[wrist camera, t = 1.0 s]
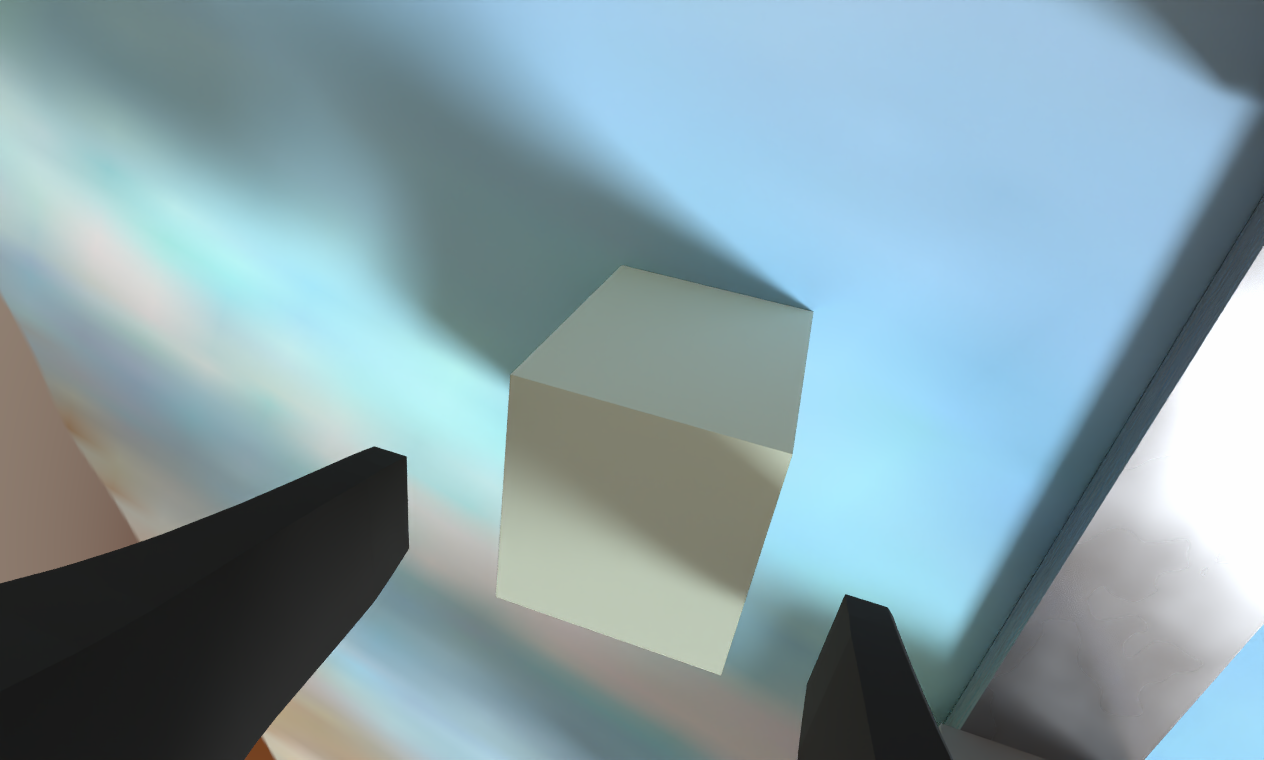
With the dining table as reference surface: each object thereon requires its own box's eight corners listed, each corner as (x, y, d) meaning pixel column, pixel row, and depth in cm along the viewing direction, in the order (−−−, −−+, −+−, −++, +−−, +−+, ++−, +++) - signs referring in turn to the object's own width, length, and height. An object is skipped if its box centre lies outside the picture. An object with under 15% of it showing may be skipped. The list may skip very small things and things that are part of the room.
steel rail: (1038, 843, 20) (1045, 871, 19) (902, 793, 21) (903, 819, 20) (1889, -175, 8) (1981, -194, 8) (1507, -208, 9) (1560, -228, 8)
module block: (760, 487, 17) (720, 675, 12) (593, 438, 18) (491, 595, 13) (813, 311, 15) (792, 453, 10) (617, 263, 16) (505, 373, 11)
